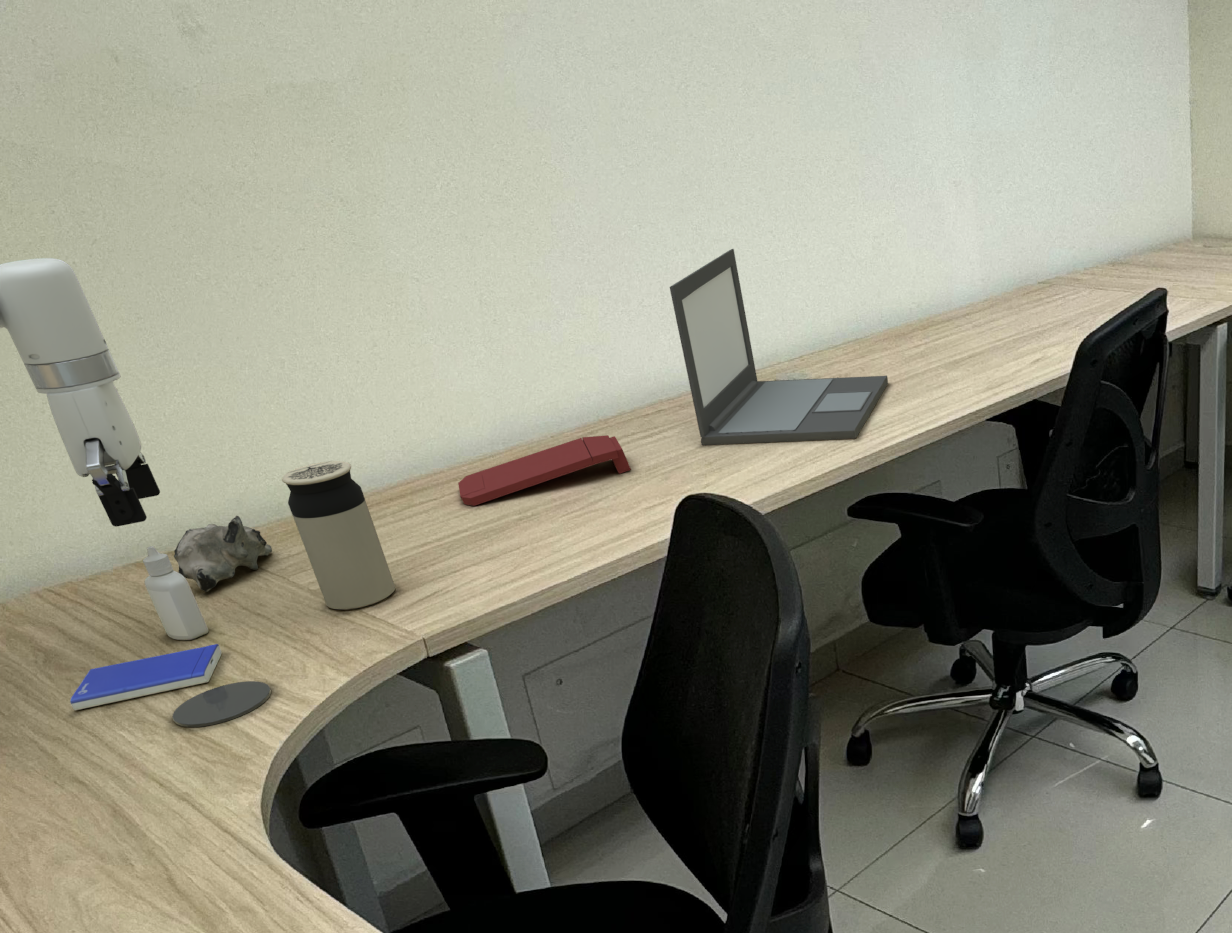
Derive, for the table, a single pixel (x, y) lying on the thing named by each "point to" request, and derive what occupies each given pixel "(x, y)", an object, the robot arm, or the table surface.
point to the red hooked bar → (541, 468)
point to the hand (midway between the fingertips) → (137, 509)
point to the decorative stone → (218, 552)
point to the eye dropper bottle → (172, 598)
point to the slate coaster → (221, 704)
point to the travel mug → (338, 535)
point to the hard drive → (146, 676)
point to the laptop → (728, 375)
